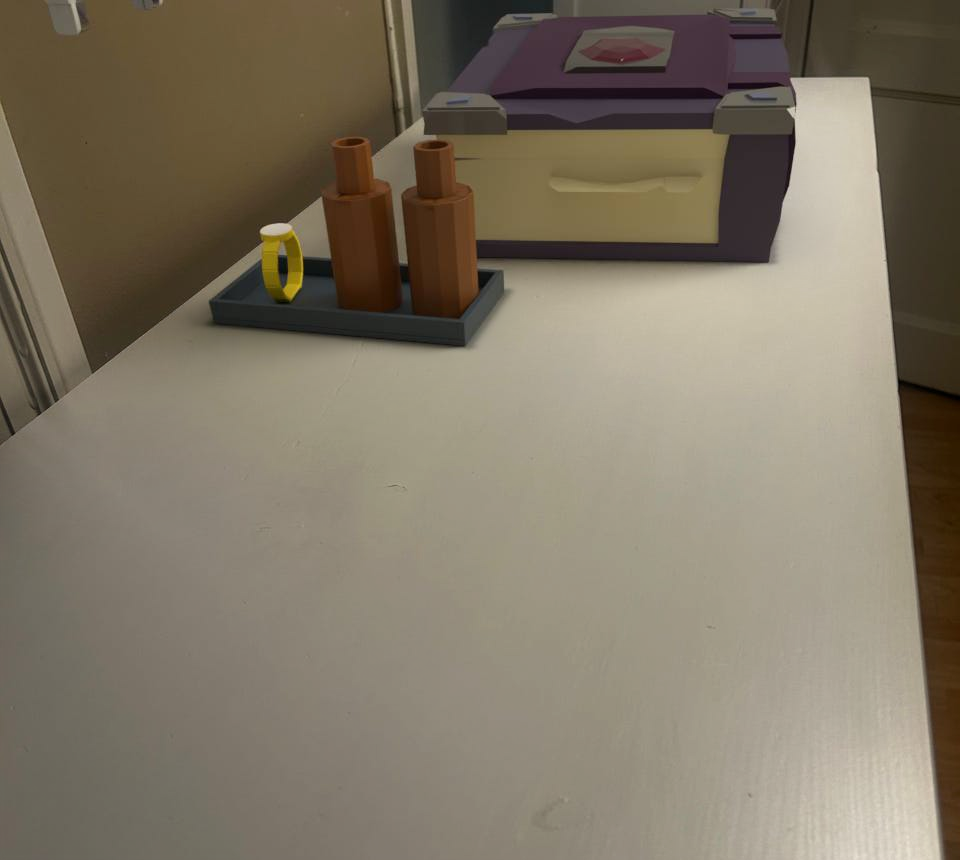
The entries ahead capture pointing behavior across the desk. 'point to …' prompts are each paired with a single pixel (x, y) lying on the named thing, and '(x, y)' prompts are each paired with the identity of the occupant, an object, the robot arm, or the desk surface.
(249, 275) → the tray
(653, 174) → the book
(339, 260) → the bottle mid
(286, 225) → the watch
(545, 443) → the desk surface
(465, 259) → the bottle far
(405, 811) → the desk surface
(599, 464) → the desk surface
